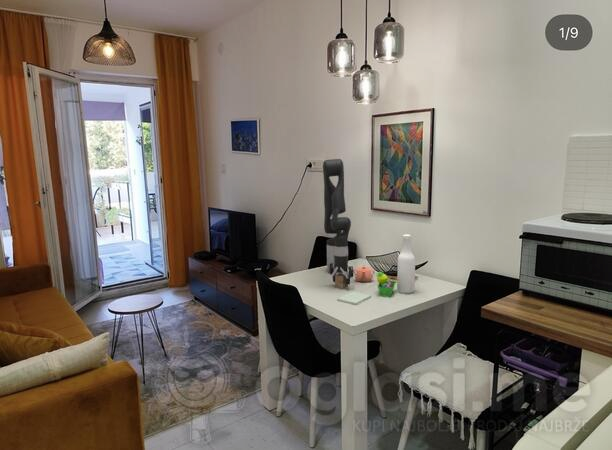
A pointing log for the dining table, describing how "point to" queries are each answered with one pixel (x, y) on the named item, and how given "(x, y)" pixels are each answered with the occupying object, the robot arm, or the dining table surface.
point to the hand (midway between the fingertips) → (341, 283)
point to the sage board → (354, 298)
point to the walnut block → (340, 281)
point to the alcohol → (406, 267)
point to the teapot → (363, 274)
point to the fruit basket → (384, 285)
